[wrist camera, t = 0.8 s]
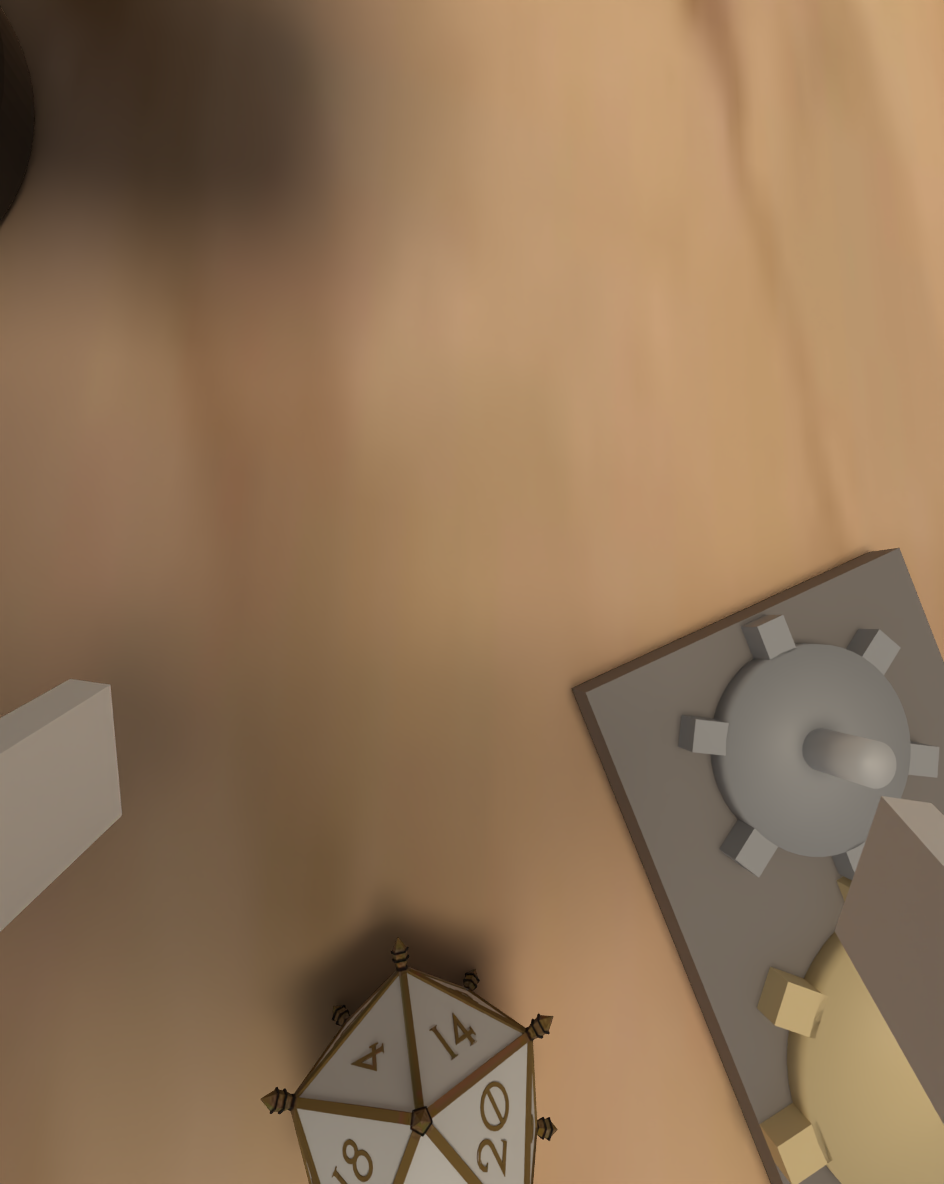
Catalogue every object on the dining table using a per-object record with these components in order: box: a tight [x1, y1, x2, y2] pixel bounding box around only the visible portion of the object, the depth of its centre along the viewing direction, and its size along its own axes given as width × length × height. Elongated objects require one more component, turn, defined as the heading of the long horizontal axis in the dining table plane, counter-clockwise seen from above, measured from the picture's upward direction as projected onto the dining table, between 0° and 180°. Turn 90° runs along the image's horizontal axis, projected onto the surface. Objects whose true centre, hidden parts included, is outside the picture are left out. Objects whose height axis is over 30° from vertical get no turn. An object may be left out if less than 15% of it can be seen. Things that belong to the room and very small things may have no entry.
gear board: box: [572, 548, 944, 1184], centre depth 23 cm, size 26×15×5 cm, turn 22°
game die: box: [261, 938, 557, 1184], centre depth 18 cm, size 9×8×10 cm
